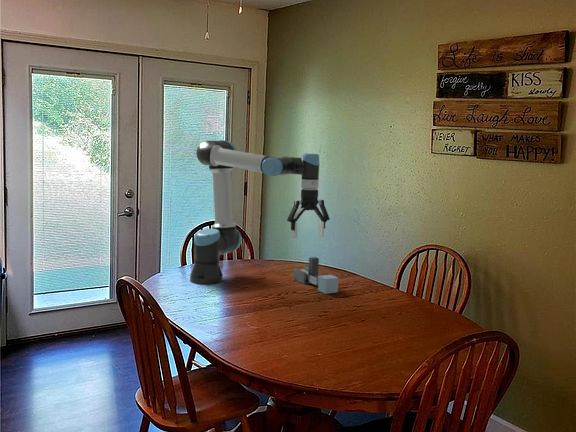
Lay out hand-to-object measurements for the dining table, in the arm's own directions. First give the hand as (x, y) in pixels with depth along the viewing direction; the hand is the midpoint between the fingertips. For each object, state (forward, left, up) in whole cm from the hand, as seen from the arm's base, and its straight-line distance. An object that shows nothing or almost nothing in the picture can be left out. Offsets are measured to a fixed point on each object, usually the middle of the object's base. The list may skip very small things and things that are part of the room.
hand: (307, 236), depth 261 cm
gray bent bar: (-9, +8, -23) cm, 26 cm away
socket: (+6, +8, -24) cm, 26 cm away
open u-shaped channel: (-14, +8, -24) cm, 29 cm away
